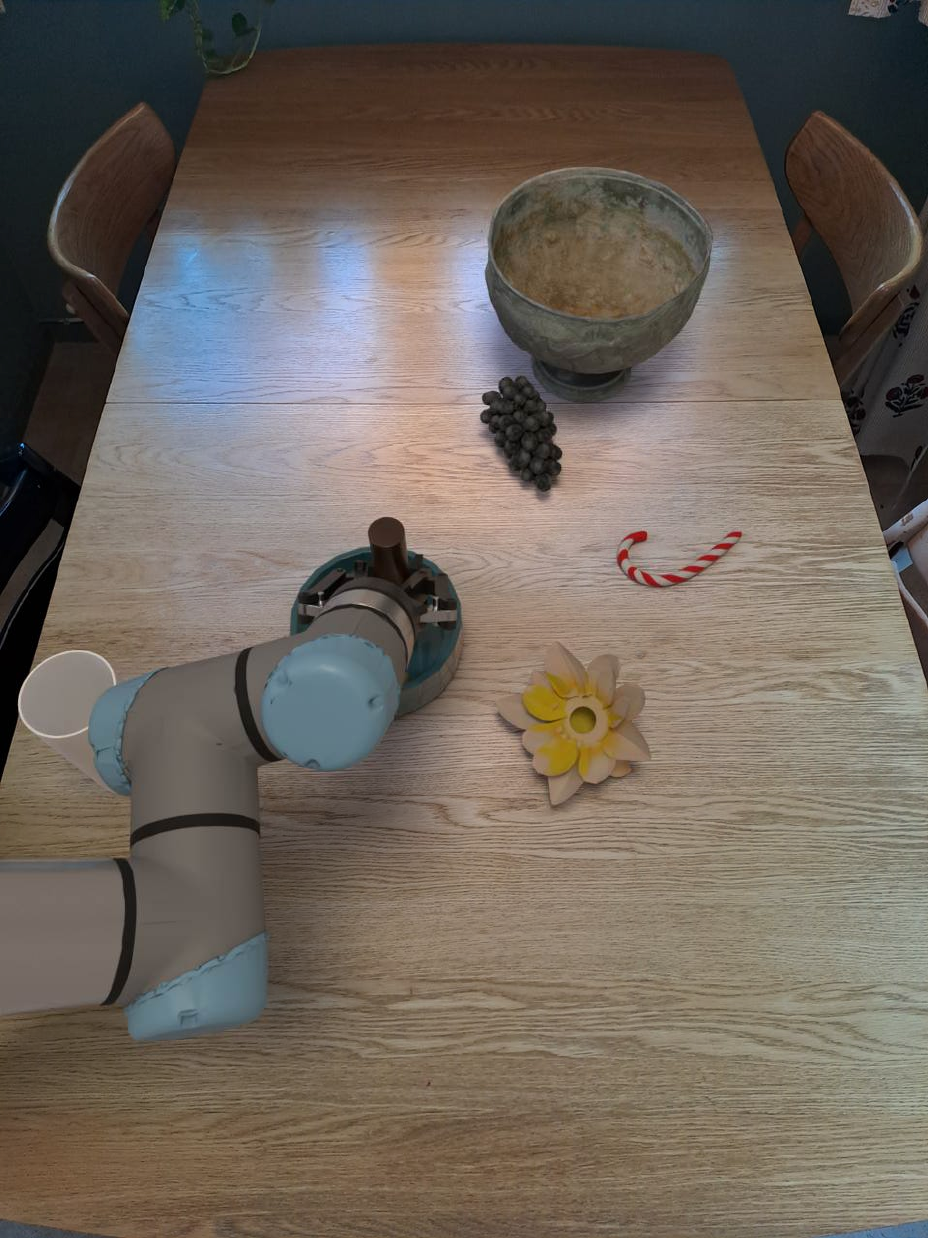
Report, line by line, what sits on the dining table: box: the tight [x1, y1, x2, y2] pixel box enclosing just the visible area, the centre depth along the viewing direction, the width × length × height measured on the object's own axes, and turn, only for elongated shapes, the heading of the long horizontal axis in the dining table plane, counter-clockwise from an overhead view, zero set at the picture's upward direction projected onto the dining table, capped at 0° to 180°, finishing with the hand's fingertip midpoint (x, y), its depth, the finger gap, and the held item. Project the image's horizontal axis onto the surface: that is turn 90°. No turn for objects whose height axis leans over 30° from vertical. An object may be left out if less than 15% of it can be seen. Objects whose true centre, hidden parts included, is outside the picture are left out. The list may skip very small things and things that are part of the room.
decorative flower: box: [495, 640, 652, 806], centre depth 82 cm, size 15×11×10 cm
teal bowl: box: [289, 546, 463, 718], centre depth 88 cm, size 17×17×6 cm
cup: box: [17, 649, 126, 796], centre depth 78 cm, size 8×8×16 cm
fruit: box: [479, 375, 564, 493], centre depth 100 cm, size 9×8×15 cm
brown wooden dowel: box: [367, 516, 409, 584], centre depth 81 cm, size 3×3×20 cm
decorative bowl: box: [484, 166, 714, 403], centre depth 102 cm, size 26×26×20 cm
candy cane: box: [616, 528, 743, 587], centre depth 96 cm, size 8×1×15 cm
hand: (399, 566), depth 85 cm, fingers closed on brown wooden dowel, 3 cm apart
